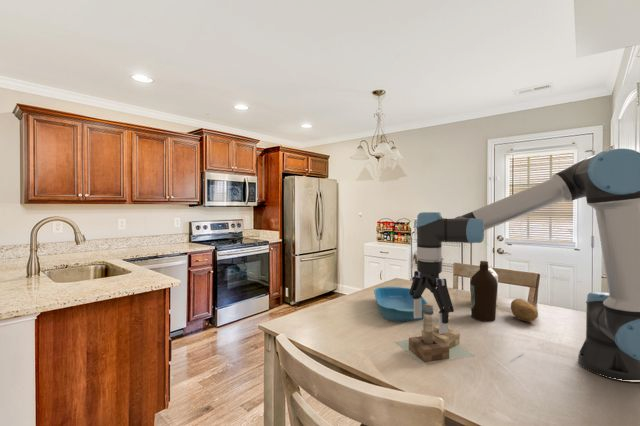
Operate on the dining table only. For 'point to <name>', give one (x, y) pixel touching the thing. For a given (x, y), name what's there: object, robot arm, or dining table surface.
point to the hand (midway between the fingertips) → (429, 325)
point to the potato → (523, 310)
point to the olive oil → (483, 294)
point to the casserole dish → (396, 303)
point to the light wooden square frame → (447, 336)
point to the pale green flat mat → (453, 354)
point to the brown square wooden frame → (429, 349)
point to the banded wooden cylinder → (428, 324)
